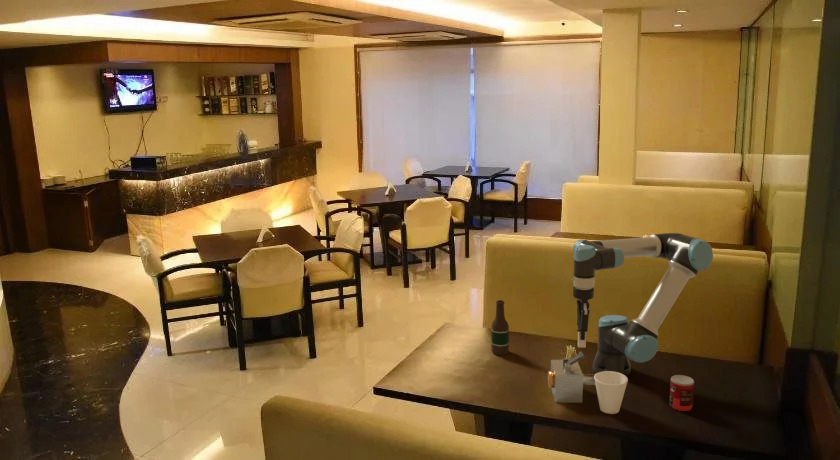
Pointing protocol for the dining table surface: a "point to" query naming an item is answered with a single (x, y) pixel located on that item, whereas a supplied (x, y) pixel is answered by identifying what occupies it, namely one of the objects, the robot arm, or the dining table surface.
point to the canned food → (681, 392)
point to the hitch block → (567, 381)
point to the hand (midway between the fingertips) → (581, 346)
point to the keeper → (575, 358)
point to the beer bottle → (500, 331)
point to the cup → (610, 390)
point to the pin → (587, 379)
